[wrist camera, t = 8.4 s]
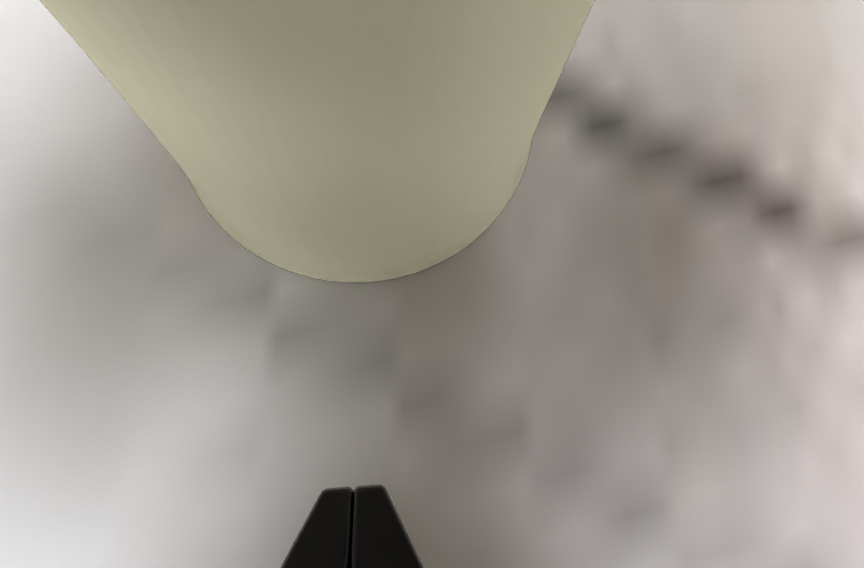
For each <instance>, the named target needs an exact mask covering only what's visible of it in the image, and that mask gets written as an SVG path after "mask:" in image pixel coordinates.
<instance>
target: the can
mask: <svg viewBox="0 0 864 568" xmlns="http://www.w3.org/2000/svg"><path fill="white" fill-rule="evenodd" d="M40 1H41V2H42V4H43V5H44V6H45V7H46V8H47V9H48V10H49V12H50V13H51V14H52V15H53V16H54V17H55V19H56V20H57V21H58V22H59V23H60V24H61V25H62V27H63V28H64V29H65V30H66V31H67V32H68V34H69V35H70V36H71V37H72V38H73V39H74V40H75V42H76V43H77V44H78V45H79V46H80V47H81V48H82V50H83V51H84V52H85V53H86V54H87V55H88V57H89V58H90V59H91V60H92V61H93V63H94V64H95V65H96V66H97V67H98V69H99V70H100V71H101V72H102V73H103V75H104V76H105V77H106V78H107V79H108V81H109V82H110V83H111V84H112V85H113V87H114V88H115V89H116V90H117V91H118V92H119V94H120V95H121V96H122V97H123V98H124V100H125V101H126V102H127V103H128V104H129V106H130V107H131V108H132V109H133V110H134V112H135V113H136V114H137V115H138V116H139V118H140V119H141V120H142V121H143V122H144V124H145V125H146V126H147V127H148V128H149V130H150V131H151V132H152V133H153V134H154V136H155V137H156V138H157V139H158V140H159V142H160V143H161V144H162V145H163V146H164V147H165V149H166V150H167V151H168V152H169V154H170V155H171V156H172V157H173V158H174V160H175V161H176V162H177V163H178V165H179V166H180V167H181V168H182V170H183V171H184V172H185V173H186V175H187V176H188V178H189V180H190V182H191V184H192V186H193V188H194V190H195V192H196V194H197V196H198V198H199V199H200V201H201V202H202V204H203V205H204V206H205V208H206V209H207V211H208V212H209V214H210V215H211V216H212V217H213V218H214V219H215V220H216V222H217V223H218V224H219V225H220V226H221V227H222V228H223V229H224V230H225V231H226V232H227V233H228V234H229V235H230V236H231V237H232V238H233V239H235V240H236V241H237V242H238V243H240V244H241V245H242V246H243V247H245V248H246V249H248V250H249V251H251V252H252V253H254V254H255V255H257V256H259V257H261V258H262V259H264V260H266V261H268V262H270V263H272V264H274V265H276V266H278V267H281V268H283V269H286V270H288V271H291V272H294V273H297V274H300V275H304V276H308V277H312V278H316V279H321V280H327V281H336V282H352V283H353V282H374V281H382V280H389V279H394V278H399V277H403V276H406V275H410V274H413V273H417V272H419V271H422V270H424V269H427V268H429V267H432V266H434V265H436V264H438V263H440V262H442V261H444V260H446V259H447V258H449V257H451V256H453V255H455V254H456V253H458V252H459V251H461V250H462V249H463V248H465V247H466V246H468V245H469V244H470V243H472V242H473V241H474V240H475V239H476V238H477V237H478V236H480V235H481V234H482V233H483V232H484V231H485V230H486V229H487V228H488V227H489V226H490V225H491V223H492V222H493V221H494V220H495V219H496V218H497V217H498V216H499V214H500V213H501V212H502V210H503V209H504V207H505V206H506V205H507V203H508V202H509V200H510V199H511V197H512V195H513V193H514V191H515V189H516V188H517V186H518V184H519V182H520V179H521V177H522V175H523V172H524V169H525V166H526V163H527V160H528V156H529V153H530V149H531V143H532V137H533V135H534V132H535V130H536V128H537V125H538V123H539V121H540V118H541V116H542V114H543V111H544V109H545V107H546V105H547V103H548V100H549V98H550V96H551V94H552V92H553V90H554V87H555V85H556V83H557V81H558V79H559V76H560V74H561V72H562V70H563V68H564V65H565V63H566V61H567V59H568V57H569V55H570V52H571V50H572V48H573V46H574V44H575V41H576V39H577V37H578V35H579V33H580V31H581V28H582V26H583V24H584V22H585V20H586V18H587V16H588V13H589V11H590V9H591V7H592V5H593V3H594V1H595V0H40Z"/></svg>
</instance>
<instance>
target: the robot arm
mask: <svg viewBox="0 0 864 568" xmlns="http://www.w3.org/2000/svg"><path fill="white" fill-rule="evenodd" d="M280 568H423V566H422V564H421V562H420V559H419V557H418V555H417V553H416V551H415V549H414V547H413V545H412V543H411V541H410V539H409V536H408V534H407V532H406V530H405V528H404V526H403V524H402V522H401V520H400V518H399V516H398V514H397V511H396V509H395V507H394V505H393V503H392V501H391V499H390V497H389V495H388V493H387V491H386V489H385V488H384V486H382V485H368V486H358V487H356V488H355V490H354V491H353V489H352V488H350V487H340V488H327V489H325V490H323V491H322V492H321V494H320V495H319V497H318V499H317V501H316V503H315V505H314V506H313V508H312V510H311V512H310V514H309V516H308V517H307V519H306V521H305V523H304V525H303V527H302V529H301V530H300V532H299V534H298V536H297V538H296V540H295V541H294V543H293V545H292V547H291V549H290V551H289V552H288V554H287V556H286V558H285V560H284V562H283V564H282V565H281V567H280Z"/></svg>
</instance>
